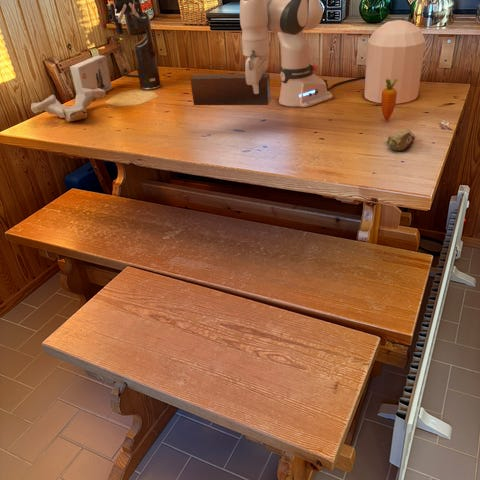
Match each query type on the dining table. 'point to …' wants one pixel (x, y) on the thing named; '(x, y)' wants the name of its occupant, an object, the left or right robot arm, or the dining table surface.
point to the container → (394, 61)
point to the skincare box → (91, 74)
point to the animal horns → (72, 111)
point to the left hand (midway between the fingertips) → (129, 31)
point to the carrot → (388, 99)
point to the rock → (400, 140)
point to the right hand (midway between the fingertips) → (258, 90)
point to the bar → (229, 90)
